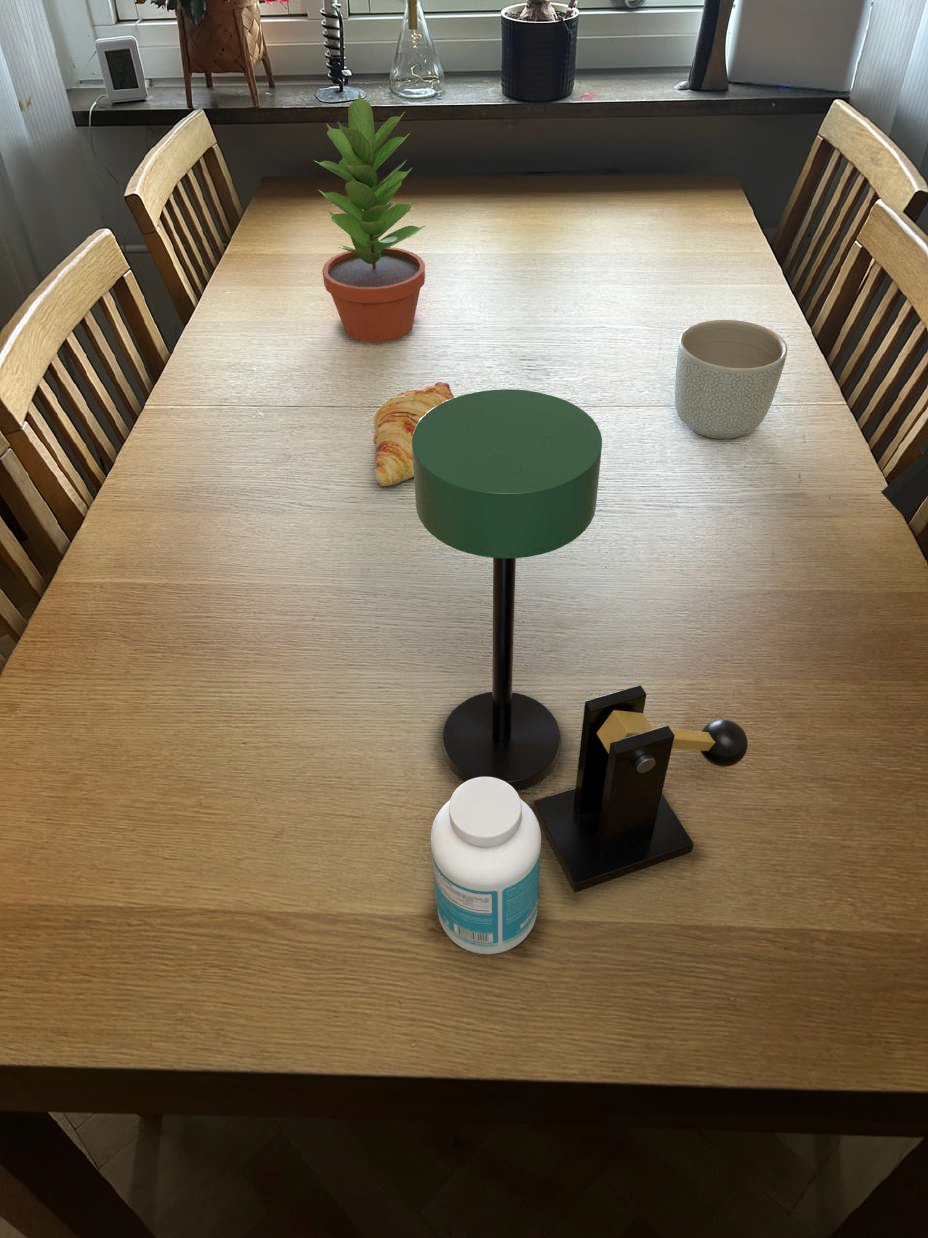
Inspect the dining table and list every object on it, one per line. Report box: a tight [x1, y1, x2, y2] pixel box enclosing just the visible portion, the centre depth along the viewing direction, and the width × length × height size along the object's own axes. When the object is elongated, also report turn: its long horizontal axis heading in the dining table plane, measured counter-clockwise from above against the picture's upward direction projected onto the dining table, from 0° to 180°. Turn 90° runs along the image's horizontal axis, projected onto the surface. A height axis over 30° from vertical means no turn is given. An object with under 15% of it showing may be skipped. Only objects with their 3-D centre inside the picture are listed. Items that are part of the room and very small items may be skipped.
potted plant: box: [312, 91, 427, 343], centre depth 126 cm, size 15×15×30 cm
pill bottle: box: [430, 777, 542, 955], centre depth 64 cm, size 8×7×14 cm
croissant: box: [373, 381, 455, 487], centre depth 112 cm, size 21×10×8 cm, turn 162°
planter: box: [674, 319, 788, 440], centre depth 113 cm, size 12×12×11 cm
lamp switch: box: [597, 710, 749, 768], centre depth 68 cm, size 13×4×4 cm, turn 110°
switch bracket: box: [532, 684, 695, 893], centre depth 69 cm, size 10×8×14 cm
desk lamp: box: [412, 388, 603, 793], centre depth 69 cm, size 12×12×31 cm
